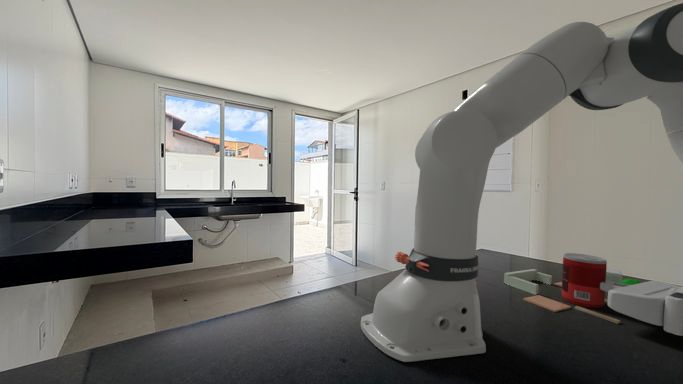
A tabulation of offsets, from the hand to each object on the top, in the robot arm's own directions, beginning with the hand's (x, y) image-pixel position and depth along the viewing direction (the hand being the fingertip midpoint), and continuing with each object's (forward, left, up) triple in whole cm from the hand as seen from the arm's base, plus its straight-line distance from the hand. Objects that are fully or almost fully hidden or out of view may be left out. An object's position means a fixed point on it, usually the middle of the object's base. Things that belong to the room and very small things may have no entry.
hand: (603, 285), depth 64 cm
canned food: (0, +4, -6) cm, 7 cm away
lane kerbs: (0, +1, -5) cm, 5 cm away
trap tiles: (0, +8, -5) cm, 10 cm away
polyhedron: (+16, +1, -6) cm, 17 cm away
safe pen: (0, +15, -5) cm, 16 cm away
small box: (+21, +8, -6) cm, 23 cm away
